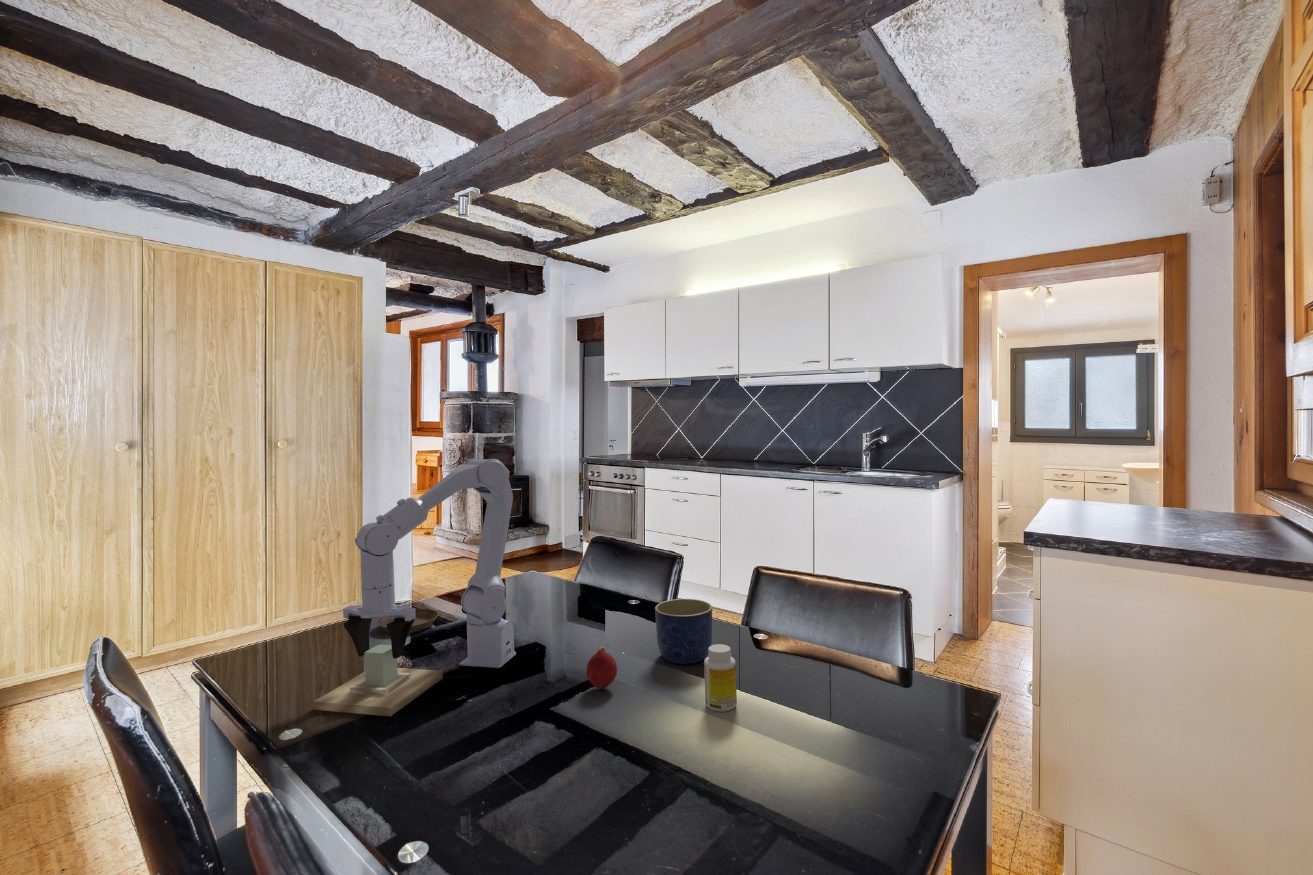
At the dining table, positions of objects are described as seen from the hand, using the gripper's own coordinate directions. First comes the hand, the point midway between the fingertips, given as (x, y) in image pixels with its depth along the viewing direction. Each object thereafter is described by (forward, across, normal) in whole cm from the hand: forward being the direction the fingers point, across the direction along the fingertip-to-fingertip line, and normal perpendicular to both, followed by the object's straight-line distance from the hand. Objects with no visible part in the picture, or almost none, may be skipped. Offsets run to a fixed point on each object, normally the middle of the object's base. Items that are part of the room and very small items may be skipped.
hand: (380, 655), depth 111 cm
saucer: (+8, -20, +36) cm, 42 cm away
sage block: (+6, 0, 0) cm, 6 cm away
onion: (+8, +42, +8) cm, 43 cm away
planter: (+8, +55, +26) cm, 61 cm away
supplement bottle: (+8, +65, +5) cm, 66 cm away
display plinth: (+7, 0, 0) cm, 7 cm away
